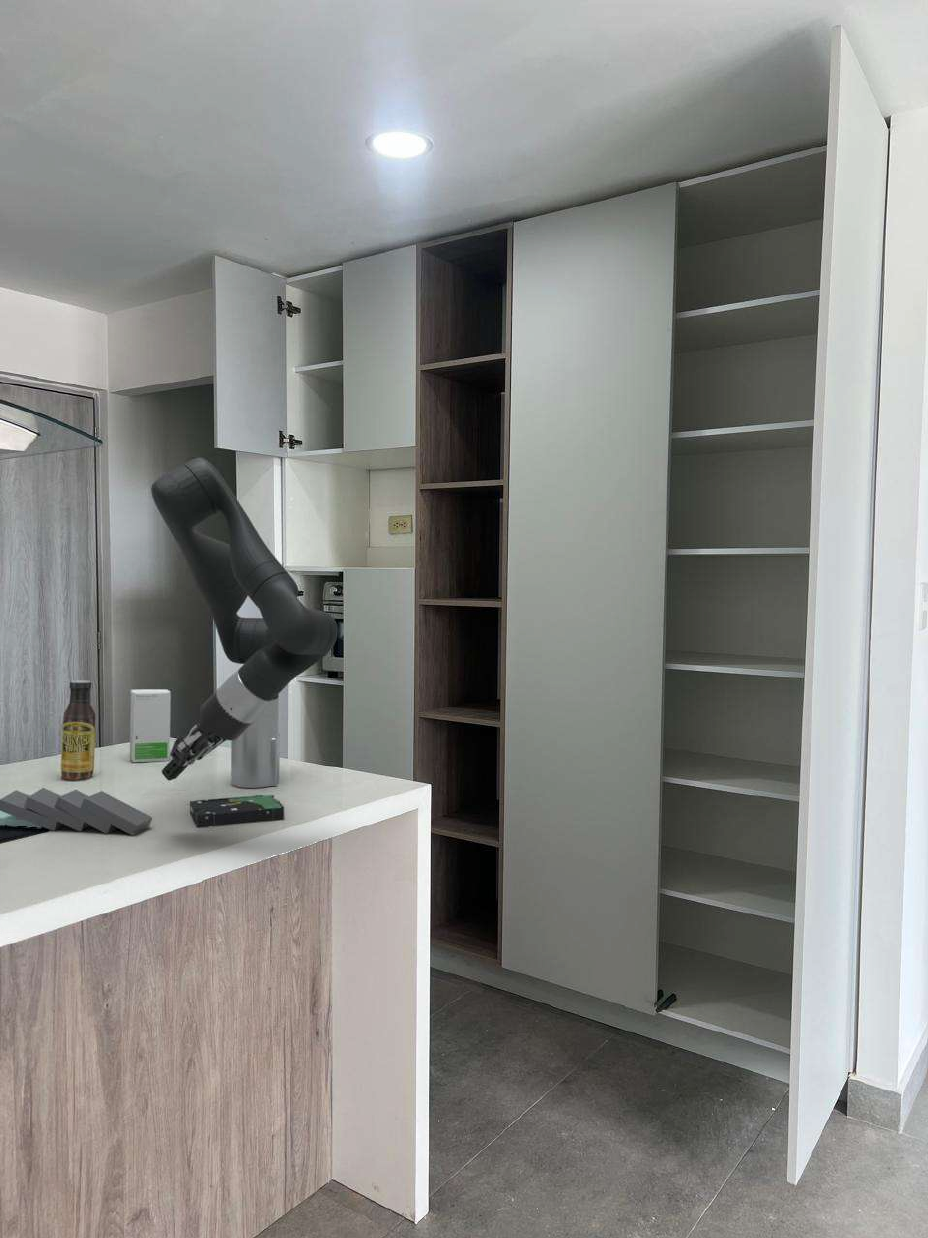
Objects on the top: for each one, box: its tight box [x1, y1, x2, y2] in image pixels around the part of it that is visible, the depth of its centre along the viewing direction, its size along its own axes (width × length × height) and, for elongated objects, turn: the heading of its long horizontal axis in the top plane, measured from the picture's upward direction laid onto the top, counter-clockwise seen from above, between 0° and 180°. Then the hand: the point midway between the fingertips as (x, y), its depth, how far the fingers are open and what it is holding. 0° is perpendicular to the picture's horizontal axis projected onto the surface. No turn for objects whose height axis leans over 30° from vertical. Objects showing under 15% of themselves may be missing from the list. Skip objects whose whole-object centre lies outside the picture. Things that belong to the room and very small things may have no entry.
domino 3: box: [24, 787, 90, 832], centre depth 150 cm, size 2×5×10 cm
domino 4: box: [55, 789, 118, 835], centre depth 150 cm, size 2×5×10 cm
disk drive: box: [189, 794, 285, 829], centre depth 159 cm, size 10×3×15 cm
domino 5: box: [81, 790, 153, 837], centre depth 149 cm, size 2×5×10 cm
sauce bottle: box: [60, 679, 96, 781], centre depth 185 cm, size 7×6×20 cm
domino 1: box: [0, 811, 42, 829], centre depth 153 cm, size 2×5×10 cm
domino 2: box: [0, 789, 64, 832], centre depth 151 cm, size 2×5×10 cm
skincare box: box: [129, 688, 172, 764], centre depth 204 cm, size 8×7×16 cm
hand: (167, 775), depth 146 cm, fingers closed
